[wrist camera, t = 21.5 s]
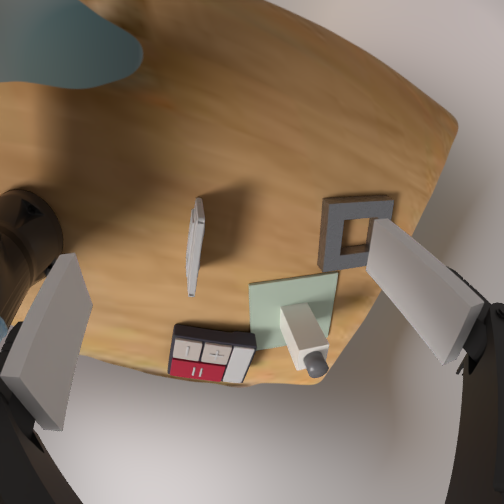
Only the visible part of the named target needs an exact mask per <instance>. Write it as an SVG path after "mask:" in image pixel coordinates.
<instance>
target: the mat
mask: <svg viewBox="0 0 504 504" xmlns="http://www.w3.org/2000/svg"><path fill="white" fill-rule="evenodd" d="M337 278H338V272H337V271H335V272H328V273H322V274H315V275H308V276H301V277H294V278H287V279H280V280H272V281H265V282H258V283H250V284H249V308H250V333H253V334H255V337H256V343H257V350H263V349H269V348H275V347H280V346H286V345H287V344H286V342H285V339H284V337H283V334H282V332H281V329H280V308H281V306H288V305H294V304H300V303H306V302H307V303H308V305H309V307H310V309H311V311H312V313H313V314H314V316H315V318H316V320H317V322H318V324H319V326H320V328H321V329H322V331H323V333H324V335H325V337H326V338H327V337H328V332H329V327H330V321H331V316H332V310H333V304H334V298H335V291H336V285H337ZM257 350H256V351H257Z"/></svg>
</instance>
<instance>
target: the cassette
mask: <svg viewBox="0 0 504 504" xmlns="http://www.w3.org/2000/svg"><path fill="white" fill-rule="evenodd" d="M204 232H205V215H204V209H203V202H202V198H199V197H198V198H196V200H195V207H194V209H192V211H191V219H190V226H189V235H188V243H187V252H186V276H187V286H188V297H195V291H196V284H197V277H198V271H199V268H200V256H201V249H202V241H203V237H204Z"/></svg>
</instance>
